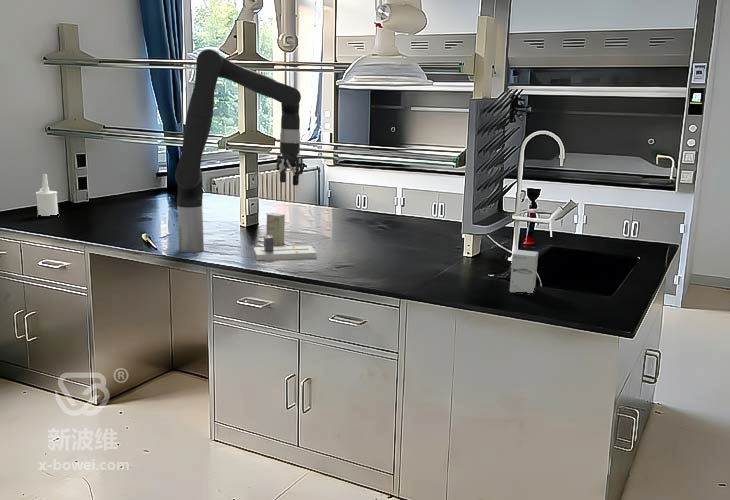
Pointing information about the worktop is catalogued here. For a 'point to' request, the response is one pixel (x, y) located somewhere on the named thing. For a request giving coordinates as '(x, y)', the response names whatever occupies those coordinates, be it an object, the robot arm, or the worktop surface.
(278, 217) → the skincare box
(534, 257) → the supplement box
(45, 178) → the white nozzle bottle
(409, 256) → the worktop surface
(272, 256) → the fader console
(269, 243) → the fader cap
